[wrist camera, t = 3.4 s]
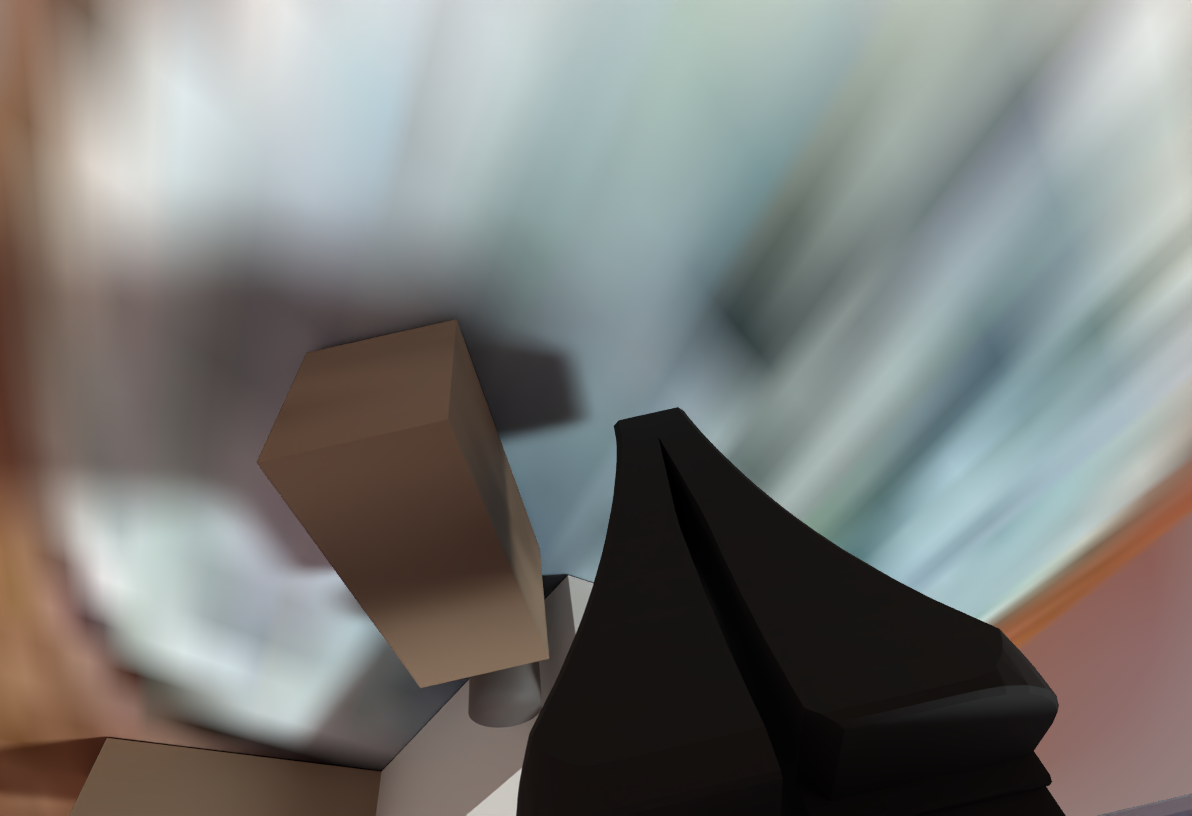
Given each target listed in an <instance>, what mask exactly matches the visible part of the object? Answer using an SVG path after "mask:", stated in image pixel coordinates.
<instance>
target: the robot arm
mask: <svg viewBox="0 0 1192 816" xmlns="http://www.w3.org/2000/svg"><path fill="white" fill-rule="evenodd" d="M614 430H615V435H616V443H617V463H616V477H615V486H614V496H613V503H612V508H611V514H610V519H609V524H608V530H607V535H606V539H605V544H604V548H603V552H602V556H601V560H600V563H599V567H598V570H597V574H596V577H595V581H594V584H593V587H592V590H591V593H590V596H589V599H588V602H587V605H586V608H585V611H584V614H583V616H582V619H581V622H580V625H579V627H578V630H577V632H576V635H575V637H574V639H573V642H572V644H571V646H570V649H569V651H568V654H567V656H566V658H565V661H564V663H563V665H562V668H561V670H560V672H559V675H558V677H557V679H556V681H555V683H554V685H553V687H552V689H551V691H550V693H549V695H548V697H547V699H546V701H545V703H544V705H543V707H542V709H541V711H540V713H539V715H538V717H537V719H536V721H535V723H534V725H533V727H532V729H531V731H530V733H529V737H528V742H527V746H526V751H525V755H524V760H523V765H522V770H521V776H520V782H519V789H518V797H517V811H516V816H1065V814H1064V813H1063V811H1062V810H1061V808H1060V807H1059V805H1058V804H1057V802H1056V801H1055V799H1054V798H1053V796H1052V795H1051V793H1050V792H1049V790H1048V789H1047V787H1046V786H1049V785H1050V784H1051V782H1052V781H1051V777H1050V774H1049V773H1048V771H1047V770H1046V768H1045V767H1044V765H1043V764H1042V763H1041V761H1040V760H1039V758H1038V757H1037V755H1036V754H1035V752H1034V750H1035V748H1036V747H1037V745H1038V744H1039V742H1040V741H1041V739H1042V738H1043V736H1044V735H1045V733H1046V732H1047V731H1048V729H1049V728H1050V726H1051V725H1052V723H1053V721H1054V719H1055V716H1056V714H1057V711H1058V706H1059V705H1058V700H1057V696H1056V694H1055V693H1054V692H1053V691H1052V689H1051V688H1050V687H1049V685H1048V684H1047V683H1046V682H1045V680H1044V679H1043V678H1042V676H1041V675H1040V674H1039V672H1038V671H1037V670H1036V668H1035V667H1034V666H1033V665H1032V664H1031V663H1030V661H1029V660H1028V659H1027V658H1026V657H1025V656H1024V655H1023V653H1022V652H1021V651H1020V650H1019V649H1018V648H1017V647H1016V646H1015V645H1014V644H1013V643H1012V642H1011V641H1010V640H1009V639H1008V638H1007V637H1006V636H1005V634H1004V633H1003V632H1002V631H1001V630H1000V629H998V628H996V627H994V626H992V625H989V624H987V623H985V622H983V621H981V620H978V619H976V618H974V617H972V616H969V615H967V614H965V613H963V612H960V611H958V610H956V609H954V608H951V607H949V606H947V605H945V604H942V603H940V602H938V601H936V600H934V599H931V598H929V597H927V596H925V595H923V594H922V593H920V592H918V591H916V590H914V589H912V588H910V587H908V586H906V585H904V584H902V583H900V582H898V581H896V580H895V579H893V578H891V577H889V576H888V575H886V574H884V573H882V572H881V571H879V570H877V569H876V568H874V567H872V566H870V565H869V564H867V563H865V562H864V561H862V560H860V559H858V558H857V557H855V556H853V555H852V554H850V553H848V552H846V551H845V550H843V549H842V548H840V547H838V546H837V545H835V544H834V543H832V542H831V541H829V540H828V539H826V538H825V537H823V536H822V535H820V534H819V533H817V532H816V531H814V530H813V529H812V528H810V527H809V526H807V525H806V524H805V523H803V522H802V521H800V520H799V519H797V518H796V517H795V516H793V515H792V514H791V513H789V512H788V511H787V510H786V509H784V508H783V507H782V506H780V505H779V504H778V503H777V502H775V501H774V500H773V499H772V498H771V497H769V496H768V495H767V494H766V493H765V492H763V491H762V490H761V489H760V488H759V487H757V486H756V485H755V484H754V483H753V482H752V481H751V480H749V479H748V478H747V477H746V476H745V475H744V474H743V473H742V472H741V471H740V470H739V469H737V468H736V467H735V466H734V465H733V464H732V463H731V462H730V461H729V460H728V459H727V458H726V457H725V456H724V455H723V454H722V453H721V452H720V451H719V450H718V449H717V448H716V447H715V446H714V445H713V444H712V443H711V442H710V441H709V440H708V439H707V438H706V437H705V436H704V434H703V433H702V432H701V431H700V430H699V429H698V428H697V427H696V425H695V424H694V423H693V422H692V421H691V420H690V418H689V417H688V416H687V415H686V413H685V412H684V411H683V410H681V409H680V408H678V407H677V408H672V409H668V410H663V411H659V412H654V413H650V414H646V415H641V416H637V417H632V418H628V419H623V420H619V421H618V422H617V423H616V424H615V425H614ZM1098 816H1192V794H1188V795H1184V796H1179V797H1175V798H1171V799H1167V800H1162V801H1158V802H1154V803H1150V804H1145V805H1141V806H1137V807H1132V808H1128V809H1124V810H1119V811H1115V812H1111V813H1107V814H1103V815H1098Z"/></svg>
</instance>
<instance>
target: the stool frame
mask: <svg viewBox="0 0 1192 816" xmlns="http://www.w3.org/2000/svg"><path fill="white" fill-rule="evenodd" d="M593 584H594V583H591V582H588V581H585V580H582V579H579V578H575V577H572V576H569V575H568V576H567V577H566V578H565V579H564V580H563V581H562V582H561V583H560V584H559V585H558V586H557V587H556V588H555V589H554V590H553V591H552V593H551V594H550V595H549V596H548V597H547V598H546V599H545V600H544V604H545V616H546V627H547V639H548V650H549V659H545V660H541V661H539V668H540V682H541V696H542V707H543V705H544V703H545V701H546V699H547V697H548V695H549V693H550V691H551V689H552V687H553V685H554V683H555V681H556V679H557V677H558V675H559V672H560V670H561V668H562V665H563V663H564V661H565V658H566V656H567V654H568V651H569V649H570V646H571V644H572V642H573V639H574V637H575V635H576V632H577V630H578V627H579V625H580V622H581V619H582V616H583V614H584V611H585V608H586V605H587V602H588V599H589V596H590V593H591V590H592V587H593ZM468 708H469V680H468V681H467V682H466V683H465V684H464V685H463V686H462V687H461V688H460V689H459V691H458V692H457V693H456V694H455V695H454V696H453V697H452V698H451V699H450V700H449V701H448V702H447V703H446V704H445V705H444V706H443V707H442V708H441V709H440V711H439V712H438V713H437V714H436V715H435V716H434V717H433V718H432V719H431V720H430V721H429V722H428V723H427V724H426V725H425V726H424V727H423V728H422V730H421V731H420V732H419V733H418V734H417V735H416V736H415V737H414V738H413V739H412V740H411V741H410V742H409V743H408V744H407V745H406V746H405V747H404V748H403V750H402V751H401V752H400V753H399V754H398V755H397V756H396V757H395V758H394V759H393V760H392V761H391V762H390V763H389V764H388V765H387V766H386V767H385V768H384V770H383V771H382V772H380V771H372V770H364V769H356V768H348V767H340V766H332V765H323V764H315V763H307V762H299V761H291V760H283V759H275V758H267V757H258V756H250V755H242V754H234V753H226V752H218V751H210V750H202V749H193V748H185V747H177V746H169V745H161V744H153V743H145V742H137V741H128V740H120V739H112V738H106V741H105V743H104V745H103V747H102V749H101V751H100V753H99V755H98V757H97V759H96V761H95V763H94V765H93V767H92V769H91V771H90V773H89V775H88V778H87V780H86V782H85V784H84V786H83V788H82V790H81V792H80V794H79V796H78V798H77V800H76V802H75V804H74V806H73V808H72V810H71V812H70V815H69V816H516V811H517V797H518V789H519V782H520V776H521V770H522V765H523V760H524V755H525V751H526V746H527V742H528V737H529V733H530V731H531V729H532V727H533V725H534V723H535V721H536V719H537V717H538V715H539V714H538V715H537V716H536V717H534V718H533V719H531V720H529V721H527V722H525V723H522V724H519V725H516V726H511V727H502V728H494V727H486V726H482V725H479V724H477V723H475V722H474V721H472V720H471V718H470V717H469V714H468ZM539 713H540V712H539Z"/></svg>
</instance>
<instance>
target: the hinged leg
mask: <svg viewBox="0 0 1192 816" xmlns="http://www.w3.org/2000/svg"><path fill="white" fill-rule="evenodd" d="M257 464H258V465H259V466H260V468H261V469H262V471H263V472H264V473H265V475H266V476H267V477H268V479H269V480H270V482H271V483H272V484H273V486H274V487H275V488H276V490H277V491H278V493H279V494H280V495H281V497H282V498H283V500H284V501H285V502H286V504H287V505H288V506H289V508H290V509H291V511H292V512H293V513H294V515H295V516H296V517H297V519H298V520H299V522H300V523H301V524H302V526H303V527H304V528H305V530H306V531H307V533H308V534H309V535H310V537H311V538H312V539H313V541H314V542H315V544H316V545H317V546H318V548H319V549H320V550H321V552H322V553H323V555H324V556H325V557H326V559H327V560H328V561H329V563H330V564H331V566H332V567H333V568H334V570H335V571H336V572H337V574H338V575H339V577H340V578H341V579H342V581H343V582H344V583H345V585H346V586H347V588H348V589H349V590H350V592H351V593H352V594H353V596H354V597H355V599H356V600H357V601H358V603H359V604H360V605H361V607H362V608H363V610H364V611H365V612H366V614H367V615H368V616H369V618H370V619H371V621H372V622H373V623H374V625H375V626H376V627H377V629H378V630H379V632H380V633H381V634H382V636H383V637H384V638H385V640H386V641H387V643H388V644H389V645H390V647H391V648H392V649H393V651H394V652H395V654H396V655H397V656H398V658H399V659H400V660H401V662H402V663H403V665H404V666H405V667H406V669H407V670H408V671H409V673H410V674H411V676H412V677H413V678H414V680H415V681H416V682H417V684H418V685H419V687H420V688H424V687H428V686H432V685H437V684H441V683H445V682H450V681H454V680H458V679H463V678H467V677H469V708H468V714H469V717H470V718H471V720H472V721H474V722H475V723H477V724H479V725H482V726H486V727H494V728H502V727H511V726H516V725H519V724H522V723H525V722H527V721H529V720H531V719H533V718H534V717H536V716H537V715H538V714H539V712H540V711H541V709H542V696H541V682H540V668H539V661H541V660H545V659H549V650H548V639H547V627H546V616H545V604H544V593H543V581H542V570H541V558H540V548H539V545H538V543H537V540H536V537H535V534H534V532H533V529H532V526H531V523H530V521H529V518H528V515H527V512H526V510H525V507H524V504H523V501H522V498H521V496H520V493H519V490H518V487H517V485H516V482H515V479H514V476H513V474H512V471H511V468H510V465H509V463H508V460H507V457H506V454H505V452H504V449H503V446H502V443H501V441H500V438H499V435H498V432H497V430H496V427H495V424H494V421H493V418H492V416H491V413H490V410H489V407H488V405H487V402H486V399H485V396H484V394H483V391H482V388H481V385H480V383H479V380H478V377H477V374H476V372H475V369H474V366H473V363H472V361H471V358H470V355H469V352H468V349H467V347H466V344H465V341H464V338H463V336H462V333H461V330H460V327H459V325H458V322H457V319H455V320H451V321H446V322H442V323H437V324H433V325H428V326H424V327H420V328H415V329H411V330H406V331H402V332H397V333H393V334H388V335H384V336H379V337H375V338H370V339H366V340H362V341H357V342H353V343H348V344H344V345H339V346H335V347H330V348H326V349H321V350H317V351H312V352H308V353H306V355H305V357H304V360H303V362H302V364H301V366H300V368H299V371H298V373H297V375H296V377H295V379H294V382H293V384H292V386H291V388H290V390H289V393H288V395H287V397H286V399H285V401H284V404H283V406H282V408H281V410H280V412H279V415H278V417H277V419H276V421H275V423H274V426H273V428H272V430H271V432H270V434H269V437H268V439H267V441H266V443H265V445H264V448H263V450H262V452H261V454H260V456H259V459H258V461H257Z"/></svg>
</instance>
